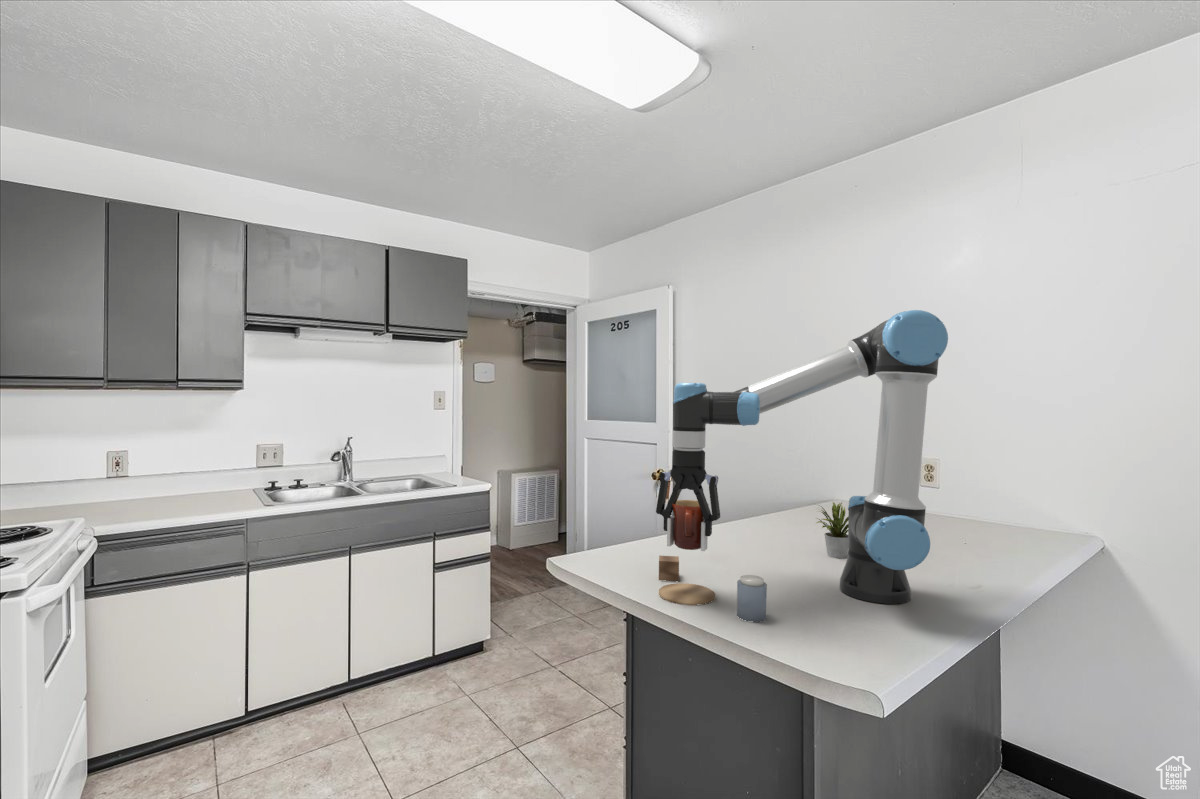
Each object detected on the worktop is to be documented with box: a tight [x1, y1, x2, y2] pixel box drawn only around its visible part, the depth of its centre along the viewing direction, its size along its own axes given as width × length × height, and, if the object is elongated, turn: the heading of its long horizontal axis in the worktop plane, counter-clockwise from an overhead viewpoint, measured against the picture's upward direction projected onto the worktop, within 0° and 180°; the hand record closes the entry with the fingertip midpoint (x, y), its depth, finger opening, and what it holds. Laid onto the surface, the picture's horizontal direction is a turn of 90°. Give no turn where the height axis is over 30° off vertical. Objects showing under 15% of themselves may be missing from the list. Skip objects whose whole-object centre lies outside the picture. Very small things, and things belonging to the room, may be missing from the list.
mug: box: [672, 499, 710, 551], centre depth 129 cm, size 12×9×10 cm
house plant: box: [813, 501, 849, 560], centre depth 166 cm, size 14×14×16 cm
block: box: [658, 555, 680, 582], centre depth 142 cm, size 5×5×5 cm
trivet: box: [658, 582, 716, 606], centre depth 129 cm, size 13×13×1 cm
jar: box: [736, 574, 768, 623], centre depth 117 cm, size 6×6×8 cm
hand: (687, 547), depth 129 cm, fingers closed on mug, 7 cm apart
